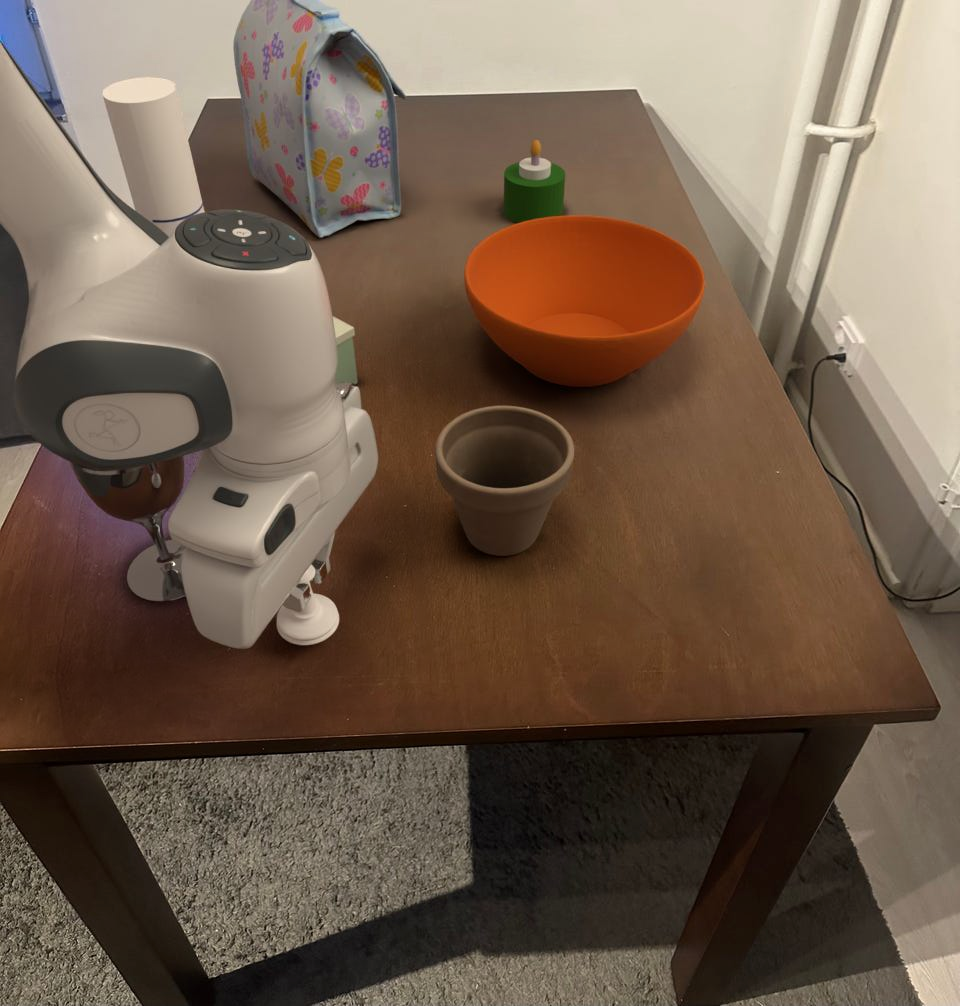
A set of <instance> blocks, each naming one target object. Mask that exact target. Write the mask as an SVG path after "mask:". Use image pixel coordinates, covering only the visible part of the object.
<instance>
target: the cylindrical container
mask: <svg viewBox="0 0 960 1006" xmlns="http://www.w3.org/2000/svg"><path fill="white" fill-rule="evenodd" d="M101 94H102V98H103V102H104V106H105V108H106V112H107V116H108V119H109V123H110V126H111V129H112V133H113V137H114V141H115V144H116V147H117V150H118V155H119V158H120V162H121V165H122V168H123V171H124V176H125V178H126V182H127V186H128V190H129V192H130V197H131V200H132V204H133V208H134V210H135V211H136V212H138V213H139V214H140V215H142V216H143V217H145V218H146V219H147V220H149V221H150V222H151V223H153V224H154V225H155V226H157V227H158V228H159V229H161V230H162V231H163V232H164V233H165V234H166V235H167V236H169V237H170V235H171V234H172V233H173V231H174V229H175V228H176V227H177V225H178V224H179V223H181V222H182V221H183V220H185V219H187V218H189V217H191V216H193V215H196V214H199V213H204V212H205V207H204V203H203V199H202V195H201V191H200V186H199V181H198V178H197V172H196V168H195V165H194V160H193V156H192V155H193V154H192V151H191V147H190V143H189V139H188V134H187V133H188V132H187V129H186V126H185V125H186V124H185V121H184V116H183V112H182V111H183V110H182V107H181V103H180V98H179V94H178V88H177V85H176V83H175V82H173V81H172V80H170V79H167V78H162V77H156V76H155V77H154V76H144V77H143V76H142V77H134V78H133V77H132V78H127V79H123V80H120V81H116V82H114V83H112V84H110V85H108V86H106V87H105V88H104V89H103V90H102V93H101Z"/></svg>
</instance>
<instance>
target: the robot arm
mask: <svg viewBox="0 0 960 1006" xmlns="http://www.w3.org/2000/svg"><path fill="white" fill-rule="evenodd" d="M0 225H1V226H2V228H3V229H4V230H5V231H6V232H7V233H8V235H9V236H10V237H11V239H12V240H13V241H14V243H15V245H16V247H17V249H18V251H19V254H20V256H21V259H22V261H23V266H24V270H25V274H26V280H27V289H28V305H27V311H26V317H25V323H24V328H23V332H22V335H21V339H20V343H19V350H18V356H17V363H16V370H15V377H14V384H13V390H12V391H13V393H12V398H13V405H14V409H15V412H16V414H17V416H18V419H19V420H20V422H21V424H22V425H23V427H24V428H25V430H26V431H27V432H28V434H30V436H31V437H32V438H33V439H34V440H35V441H36V442H38V443H39V444H40V445H41V446H42V447H43V448H45V449H46V450H48V451H49V452H51V453H52V454H54V455H56V456H57V457H59V458H61V459H62V460H65V461H67V462H69V461H70V462H72V463H75V464H78V465H81V466H85V467H89V468H95V469H104V470H120V469H129V468H135V467H140V466H144V465H149V464H153V463H157V462H162V461H166V460H170V459H173V458H177V457H181V456H183V457H184V456H187V455H191V454H195V453H197V452H200V455H199V458H198V460H197V464H196V466H195V469H194V471H193V472H192V476H191V477H190V479H189V482H188V483H187V485H186V487H185V489H184V491H183V492H182V494H181V496H180V498H179V499H178V500H177V503H176V505H175V506H174V508H173V510H172V512H171V513H170V516H169V518H168V522H167V529H168V533H169V536H170V538H171V540H173V541H175V542H177V543H179V544H181V545H183V546H185V550H184V553H183V556H182V562H181V575H182V581H183V586H184V590H185V594H186V596H185V598H186V601H187V605H188V609H189V611H190V615H191V618H192V621H193V623H194V626H195V628H196V630H197V631H198V633H199V634H200V635H202V636H203V637H204V638H206V639H208V640H210V641H212V642H215V643H216V644H220V645H222V646H226V647H229V648H233V649H239V650H240V649H241V650H243V649H244V650H246V649H250V648H251V647H252V646H254V645H255V643H256V642H257V640H258V639H259V638H260V636H261V635H262V633H263V632H264V631H265V629H266V628H267V626H268V625H269V623H270V622H271V621H272V619H273V618H274V617H275V615H277V613H278V611H279V609H280V608H281V606H282V605H283V606H284V607H286V608H288V609H291V610H294V611H296V612H301V611H302V610H303V608H304V607H305V606H306V604H307V603H308V601H309V600H310V598H311V594H310V587H309V585H308V584H305V583H302V584H299V582H300V579H301V578H302V576H303V575H304V573H305V572H306V571H307V569H308V568H309V567H310V565H311V564H312V565H313V567H314V568H315V576H314V577H313V579H312V580H310V581H309V582H313V583H314V584H318V585H320V584H321V583H322V582H323V581H324V580H325V578H326V577H327V575H328V574H329V573H330V571H331V563H330V556H331V552H332V548H333V544H334V539H335V536H336V531H337V529H338V528H339V526H340V525H341V524H342V522H343V521H344V519H345V518H346V517H347V515H348V514H349V512H350V511H351V510H352V509H353V507H354V506H355V504H356V503H357V501H358V500H359V498H360V497H362V494H363V493H364V492H365V491H366V489H367V488H368V486H369V485H370V483H371V482H372V481H373V480H374V478H375V477H376V473H377V469H378V464H379V452H378V446H377V440H376V435H375V430H374V426H373V422H372V419H371V416H370V414H369V413H368V412H367V410H365V409H362V398H361V390H360V388H359V386H357V384H354V383H352V382H348V383H345V382H341V383H339V384H338V385H337V386H336V387H335V375H336V371H337V365H338V352H337V343H336V335H335V329H334V322H333V317H334V316H333V311H332V305H331V300H330V295H329V291H328V287H327V283H326V280H325V279H326V278H325V275H324V273H323V269H322V265H321V264H320V262H319V260H318V257H317V255H316V253H315V251H314V250H313V249H312V247H311V246H310V243H308V241H307V240H306V239H305V238H304V237H303V236H302V235H301V234H300V233H299V232H298V231H297V230H296V229H295V228H292V227H291V226H289V225H288V224H286V223H285V222H282V221H281V220H279V219H277V218H273V217H271V216H268V215H267V214H263V213H260V212H255V211H252V210H251V211H250V210H245V209H244V210H243V209H227V208H226V209H215V210H209V211H204V213H199V214H196V215H193V216H191V217H189V218H187V219H185V220H183V221H182V222H181V223H179V224H178V225H177V227H176V228H175V229H174V231H173V233H172V234H171V235H170V237H169V236H167V235H166V234H165V233H164V232H163V231H162V230H161V229H159V228H158V227H157V226H155V225H154V224H153V223H151V222H150V221H149V220H147V219H146V218H145V217H143V216H142V215H140V214H139V213H138V212H136V211H135V208H132V207H131V206H130V205H129V204H127V203H126V202H125V201H123V200H122V199H121V198H120V197H119V196H118V195H117V194H116V193H115V192H113V190H111V188H110V187H109V186H108V185H107V184H106V183H105V182H104V181H103V180H102V178H101V177H100V175H98V173H97V172H96V170H95V169H94V168H93V166H92V165H91V163H90V162H89V161H88V160H87V158H86V157H85V155H84V154H83V152H82V151H81V149H80V148H79V146H78V145H77V144H76V142H75V141H74V140H73V138H72V137H71V136H70V134H69V133H68V131H67V130H66V128H64V126H63V124H62V122H60V120H59V119H58V118H57V116H56V115H55V113H54V112H53V110H52V109H51V108H50V106H49V105H48V104H47V102H46V101H45V99H44V97H43V96H42V95H41V93H40V92H39V91H38V89H37V88H36V86H35V85H34V83H33V82H32V80H30V78H29V77H28V76H27V74H26V73H25V72H24V70H23V68H22V67H21V65H20V64H19V63H18V61H17V60H16V59H15V58H14V56H13V55H12V53H11V52H10V50H9V49H8V48H7V47H6V45H5V44H4V42H3V41H2V40H1V39H0ZM70 462H69V463H70Z"/></svg>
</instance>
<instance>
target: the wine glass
mask: <svg viewBox="0 0 960 1006" xmlns="http://www.w3.org/2000/svg"><path fill="white" fill-rule="evenodd" d="M184 458H185V457H184V456H181V457H177V458H173V459H170V460H166V461H162V462H157V463H153V464H149V465H144V466H140V467H135V468H129V469H120V470H104V469H95V468H89V467H85V466H81V465H78V464H75V463H72V462H70V461H68V462H69V464H70V467H71V469H72V471H73V473H74V474H75V477H76V479H77V481H78V483H79V484H80V486H81V487H82V488H83V491H85V493H86V495H87V496H88V497H89V498H90V499H91V501H92V502H93V503H94V504H95V505H96V506H97V507H98V508H99V509H100V510H101V511H103V512H104V513H105V514H106V515H108V516H110V517H112V518H115V519H118V520H121V521H125V522H131V523H136V524H139V525H140V526H142V527H143V528H144V529H145V530H146V531H147V533H148V534H149V536H150V538H151V539H152V541H153V543H154V544H153V545H151V546H149V547H148V548H146V549H145V550H142V551H141V552H140V553H139V554H138V555H137V556H136V557H135V558H134V559H133V560H132V562H131V564H130V565H129V567H128V570H127V575H126V583H127V585H128V588H129V590H130V591H131V592H132V593H133V594H134V595H135V596H137V597H138V598H140V599H142V600H145V601H148V602H154V603H157V602H159V603H160V602H161V603H164V602H171V601H176V600H178V599H181V598H183V597H186V594H185V590H184V586H183V581H182V575H181V562H182V556H183V553H184V550H185V546H183V545H181V544H179V543H177V542H175V541H173V540H172V539H168V540H165V535H164V530H163V529H164V528H163V519H164V517H165V514H166V513H167V512H168V511H169V510H170V509H171V508H172V507H173V506H174V504H175V503H176V501H178V498H179V497H180V495H181V493H182V490H183V488H184V482H185V461H184V460H185V459H184Z"/></svg>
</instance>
